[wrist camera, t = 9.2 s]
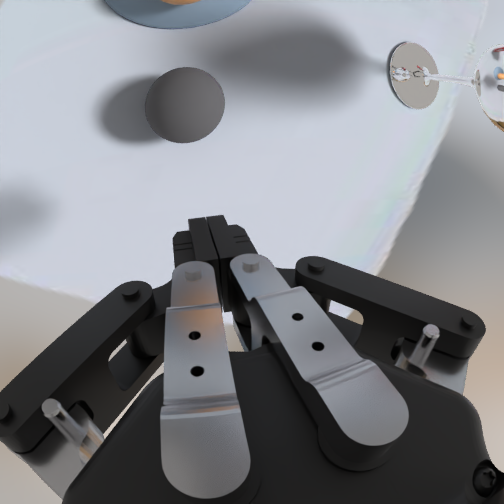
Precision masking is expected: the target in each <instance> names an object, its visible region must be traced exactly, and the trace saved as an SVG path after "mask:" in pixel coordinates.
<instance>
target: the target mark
mask: <svg viewBox="0 0 504 504" xmlns="http://www.w3.org/2000/svg"><path fill="white" fill-rule="evenodd" d="M105 1H106V2H107V4H108V5H109V6H110V7H111V8H112V9H113V10H114V11H116V12H117V13H118V14H120V15H121V16H123V17H125V18H126V19H128V20H131V21H133V22H136V23H139V24H142V25H146V26H150V27H156V28H167V29H178V28H190V27H196V26H201V25H206V24H209V23H212V22H216V21H218V20H221V19H223V18H226V17H228V16H230V15H231V14H233V13H235V12H237V11H238V10H240V9H241V8H243V7H244V6H245V5H247V4H248V3H249V2H250V1H251V0H201V1H198V2H195V3H192V4H186V5H174V4H169V3H166V2H163V1H161V0H105Z"/></svg>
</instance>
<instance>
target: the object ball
mask: <svg viewBox="0 0 504 504" xmlns="http://www.w3.org/2000/svg"><path fill="white" fill-rule="evenodd" d="M161 1H163V2H166V3H169V4H174V5H186V4H192V3H195V2H198V1H201V0H161Z"/></svg>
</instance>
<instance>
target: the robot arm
mask: <svg viewBox="0 0 504 504" xmlns="http://www.w3.org/2000/svg"><path fill="white" fill-rule="evenodd" d="M188 224H189V230H188V231H181V232H177V233H176V234H175V236H174V237H173V250H174V263H175V269H174V271H173V273H172V279H171V280H170V281H169V282H168V283H166V284H165V285H163V286H160V287H158V288H155V289H152V287H151V286H150V285H149V284H148V283H146V282H143V281H130V282H126V283H124V284H121V285H120V286H118V287H117V288H115V289H114V290H113V291H112V292H111V293H109V294H108V295H107V296H106V297H105V298H103V299H102V300H101V301H100V302H99V303H97V304H96V305H95V306H94V307H93V308H91V309H90V310H89V311H88V312H87V313H86V314H85V315H83V316H82V317H81V318H80V319H79V320H78V321H76V322H75V323H74V324H73V325H72V326H71V327H70V328H68V329H67V330H66V331H65V332H64V333H63V334H62V335H61V336H59V337H58V338H57V339H56V340H55V341H54V342H53V343H52V344H51V345H49V346H48V347H47V348H46V349H45V350H44V351H43V352H42V353H41V354H40V355H38V356H37V357H36V358H35V359H34V360H33V361H32V362H31V363H30V364H29V365H28V366H27V367H26V368H24V369H23V370H22V371H21V372H20V373H19V374H18V375H17V376H16V377H15V378H14V379H13V380H12V381H11V382H10V383H9V384H8V385H7V386H6V387H5V388H4V389H3V390H2V391H1V392H0V441H1V442H3V443H4V444H5V445H6V446H7V447H8V449H9V450H10V451H12V452H13V453H14V454H15V455H16V456H18V457H19V458H20V459H22V460H23V461H24V462H26V463H27V464H28V465H29V466H30V467H31V468H32V469H33V470H34V472H35V473H36V474H37V475H38V476H39V477H40V478H41V479H42V480H43V481H44V482H45V483H46V484H47V485H48V486H49V487H50V488H51V489H52V490H53V491H54V492H55V493H56V494H57V495H58V496H59V497H60V498H62V499H63V502H62V504H504V473H503V472H501V471H499V470H498V469H497V468H496V467H495V466H494V464H493V463H492V461H491V459H490V457H489V454H488V452H487V449H486V445H485V442H484V437H483V431H482V425H481V420H480V417H479V414H478V412H477V410H476V409H475V407H474V406H473V404H472V403H471V402H470V401H469V400H468V399H467V398H466V397H465V396H463V390H464V385H465V380H466V373H467V367H468V361H469V359H470V357H471V356H472V354H473V353H474V351H475V349H476V348H477V346H478V344H479V343H480V341H481V339H482V337H483V336H484V334H485V331H486V328H485V324H484V322H483V321H482V319H481V318H480V317H479V316H478V315H476V314H475V313H473V312H471V311H469V310H466V309H463V308H461V307H458V306H456V305H453V304H450V303H448V302H445V301H442V300H439V299H437V298H434V297H432V296H429V295H426V294H423V293H421V292H418V291H415V290H413V289H410V288H407V287H404V286H401V285H399V284H396V283H393V282H390V281H388V280H385V279H382V278H379V277H377V276H374V275H371V274H368V273H365V272H363V271H360V270H357V269H354V268H351V267H349V266H346V265H343V264H340V263H337V262H334V261H331V260H329V259H326V258H323V257H318V256H308V257H304V258H301V259H300V260H298V261H297V263H296V267H295V269H282V268H275V267H274V265H273V264H272V263H271V261H270V260H269V259H268V258H267V257H265V256H262V255H259V254H258V253H257V251H256V249H255V247H254V246H253V244H252V242H251V241H250V238H249V237H248V235H247V233H246V231H245V229H243V228H242V227H240V226H238V225H237V224H236V225H228V224H227V222H226V220H225V218H224V216H223V215H218V216H210V217H206V219H205V217H202V218H194V219H188ZM331 300H333V301H335V302H338V303H340V304H343V305H345V306H348V307H350V308H353V309H355V310H357V311H359V312H360V313H361V314H362V316H363V319H364V322H363V325H360V324H357V323H355V322H353V321H350V320H348V319H345V318H343V317H340V316H338V315H336V314H333V313H331V312H329V307H330V302H331ZM222 306H223V310H224V312H230V311H232V314H233V326H234V329H235V331H236V334H237V336H238V338H239V340H240V343H241V345H242V347H243V349H244V352H230V351H228V347H227V341H226V335H225V329H224V323H223V317H222ZM125 339H126V341H127V343H126V344H125V345H124V346H123V347H122V348H121V350H119V352H118V353H117V354H116V355H115V356H114V357H113V358H112V359H111V360H110V361H109V362H108V360H109V357H110V355H111V353H112V352H113V351H114V350H115V349H116V348H117V347H118V346H119V345H120V344H121V343H122V342H123V341H124V340H125ZM163 362H164V373H162V374H161V375H159V376H157V377H156V378H155V379H153V380H152V381H151V382H150V383H149V384H148V385H147V386H146V387H145V388H144V389H143V391H142V392H141V393H140V394H139V396H138V397H137V398H136V400H135V401H134V402H133V403H132V405H131V406H130V407H129V409H128V410H127V411H126V413H125V414H124V415H123V417H122V418H121V419H120V420H119V422H118V423H117V424H116V426H115V427H114V428H113V429H112V431H111V432H110V433H109V435H108V436H107V437H106V439H105V440H104V436H103V434H104V433H105V431H106V430H107V429H108V427H110V425H111V424H112V423H113V422H114V421H115V419H116V418H117V417H118V416H119V414H120V413H121V412H122V411H123V410H124V409H125V407H126V406H127V405H128V404H129V403H130V401H131V400H132V399H133V398H134V397H135V396H136V394H137V393H138V392H139V391H140V390H141V388H142V387H143V386H144V385H145V383H146V382H147V381H148V380H149V379H150V378H151V376H152V375H153V374H154V373H155V372H156V370H157V369H158V368H159V367H160V366H161V364H162V363H163Z"/></svg>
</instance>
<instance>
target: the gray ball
mask: <svg viewBox="0 0 504 504" xmlns="http://www.w3.org/2000/svg"><path fill="white" fill-rule="evenodd" d="M224 107H225V99H224V94H223V91H222V88H221V86H220V85H219V83H218V82H217V81H216V80H215V78H214V77H213V76H211V75H210V74H209V73H207V72H205V71H203V70H200V69H197V68H191V67H183V68H177V69H173V70H171V71H169V72H167V73H165V74H163V75H162V76H161V77H159V78H158V79H157V80H156V81H155V82H154V84H153V85H152V86H151V88H150V90H149V92H148V94H147V98H146V102H145V112H146V117H147V120H148V122H149V124H150V126H151V127H152V129H153V130H154V131H155V132H156V133H157V134H158V135H159V136H161V137H162V138H164V139H166V140H168V141H171V142H176V143H190V142H194V141H197V140H200V139H202V138H204V137H206V136H207V135H209V134H210V133H211V132H212V131H213V130H214V129H215V128H216V127H217V125H218V124H219V122H220V120H221V118H222V116H223V113H224Z"/></svg>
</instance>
